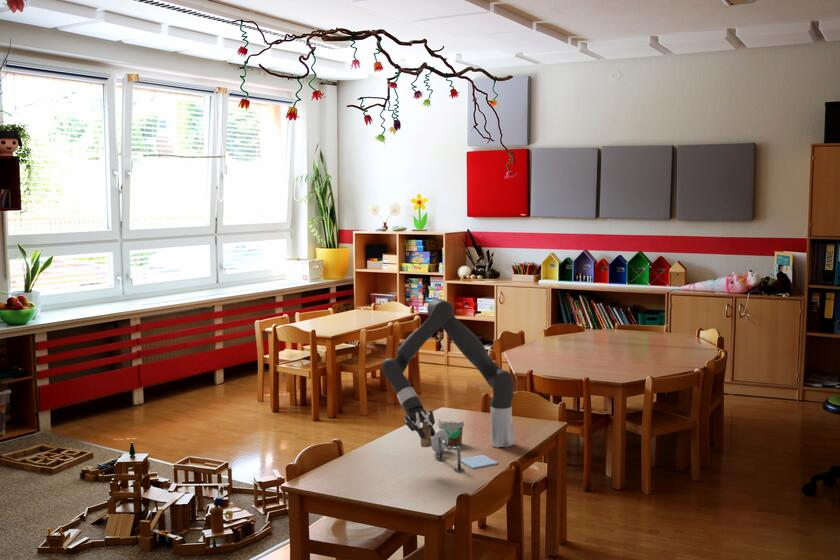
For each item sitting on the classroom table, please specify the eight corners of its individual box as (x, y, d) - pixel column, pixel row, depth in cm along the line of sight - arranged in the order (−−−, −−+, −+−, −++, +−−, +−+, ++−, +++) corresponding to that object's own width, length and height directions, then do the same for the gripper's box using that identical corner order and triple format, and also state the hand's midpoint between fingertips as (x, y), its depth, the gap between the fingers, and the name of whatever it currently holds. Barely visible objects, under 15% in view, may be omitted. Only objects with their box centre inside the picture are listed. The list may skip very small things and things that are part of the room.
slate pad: (482, 456, 331) (482, 454, 331) (498, 463, 320) (498, 462, 320) (457, 460, 325) (457, 459, 325) (472, 469, 315) (472, 467, 315)
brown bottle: (428, 443, 315) (427, 420, 315) (433, 446, 312) (432, 422, 311) (419, 445, 314) (418, 421, 313) (423, 447, 310) (422, 424, 309)
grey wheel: (435, 456, 333) (434, 432, 332) (429, 454, 335) (428, 431, 334) (450, 450, 340) (449, 427, 339) (443, 448, 342) (443, 426, 342)
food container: (433, 445, 348) (433, 422, 347) (438, 441, 354) (438, 419, 353) (460, 447, 343) (459, 424, 343) (464, 443, 349) (464, 421, 348)
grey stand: (441, 458, 330) (441, 435, 329) (464, 471, 313) (463, 446, 312) (435, 459, 328) (434, 436, 327) (457, 472, 311) (457, 448, 310)
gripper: (398, 398, 313) (418, 435, 304) (427, 392, 321) (447, 427, 312) (391, 409, 317) (410, 445, 309) (420, 403, 326) (439, 438, 317)
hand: (428, 436), depth 311 cm, fingers closed on brown bottle, 4 cm apart
